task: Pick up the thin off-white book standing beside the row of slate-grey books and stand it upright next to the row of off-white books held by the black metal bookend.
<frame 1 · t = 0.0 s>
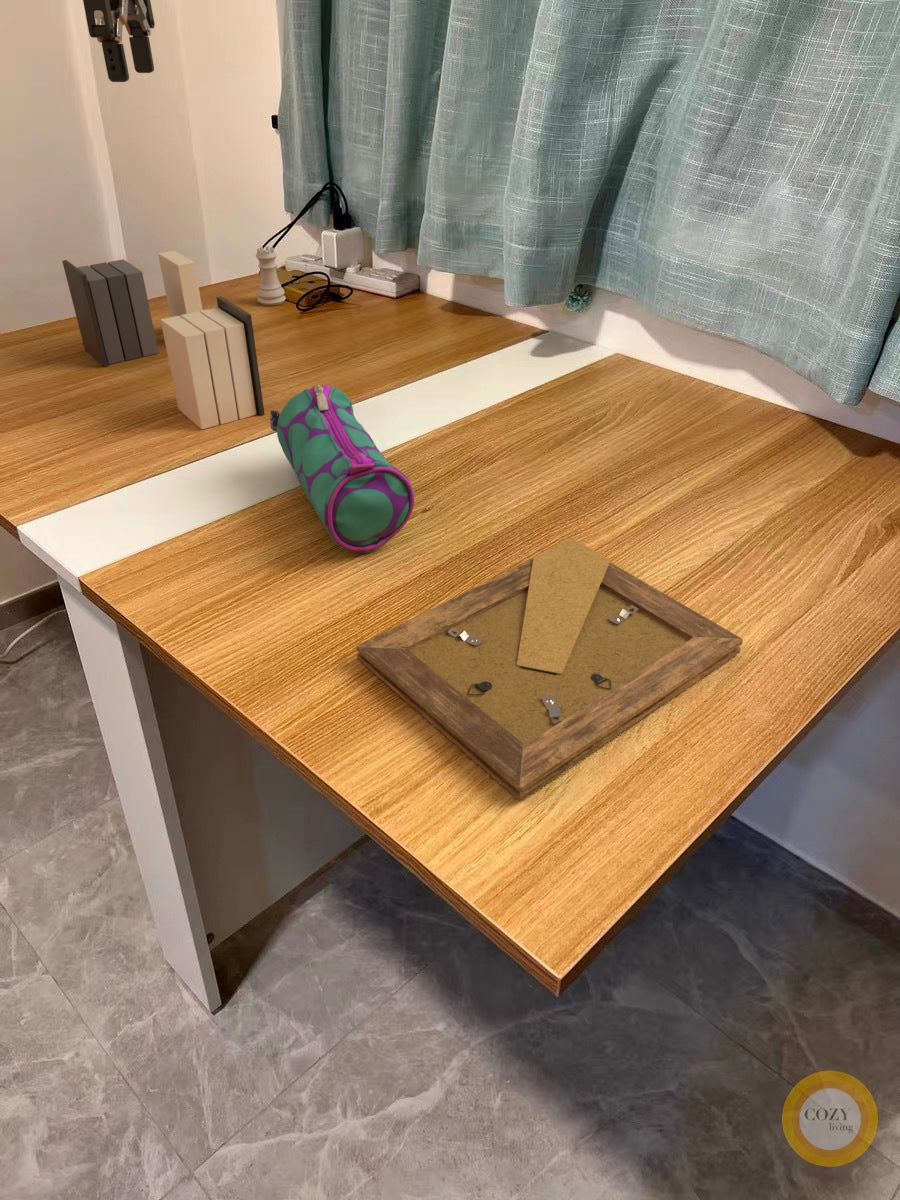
hand: (132, 77, 105), 32 cm above the table, tool pointing down, fingers open, 8 cm apart
picture frame: (549, 659, 70), on the table
pencil case: (343, 506, 89), on the table
white book: (190, 336, 127), on the table
grey books: (125, 351, 122), on the table
white books: (217, 412, 106), on the table
rook chess piece: (272, 303, 139), on the table
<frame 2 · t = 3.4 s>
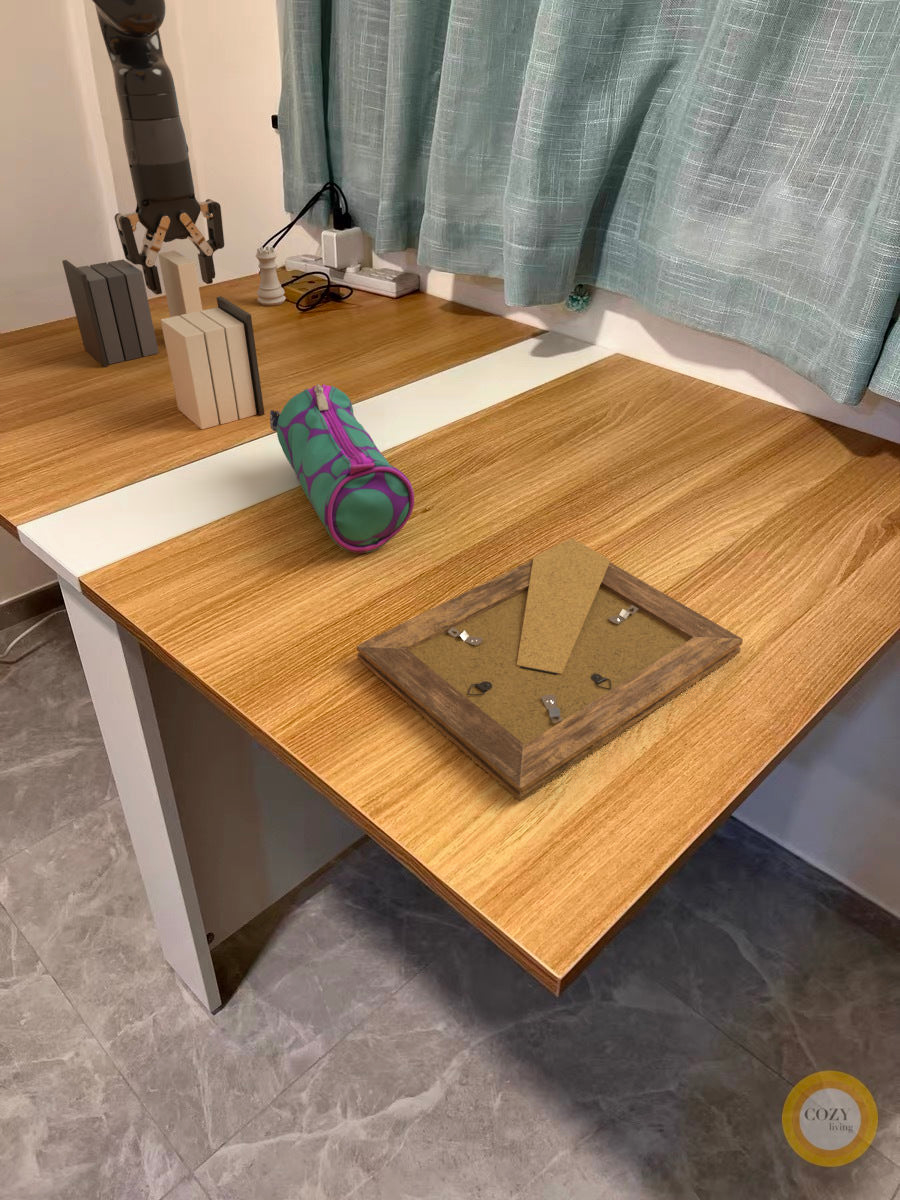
hand: (182, 287, 123), 7 cm above the table, tool pointing down, fingers open, 7 cm apart
nothing on the table moved.
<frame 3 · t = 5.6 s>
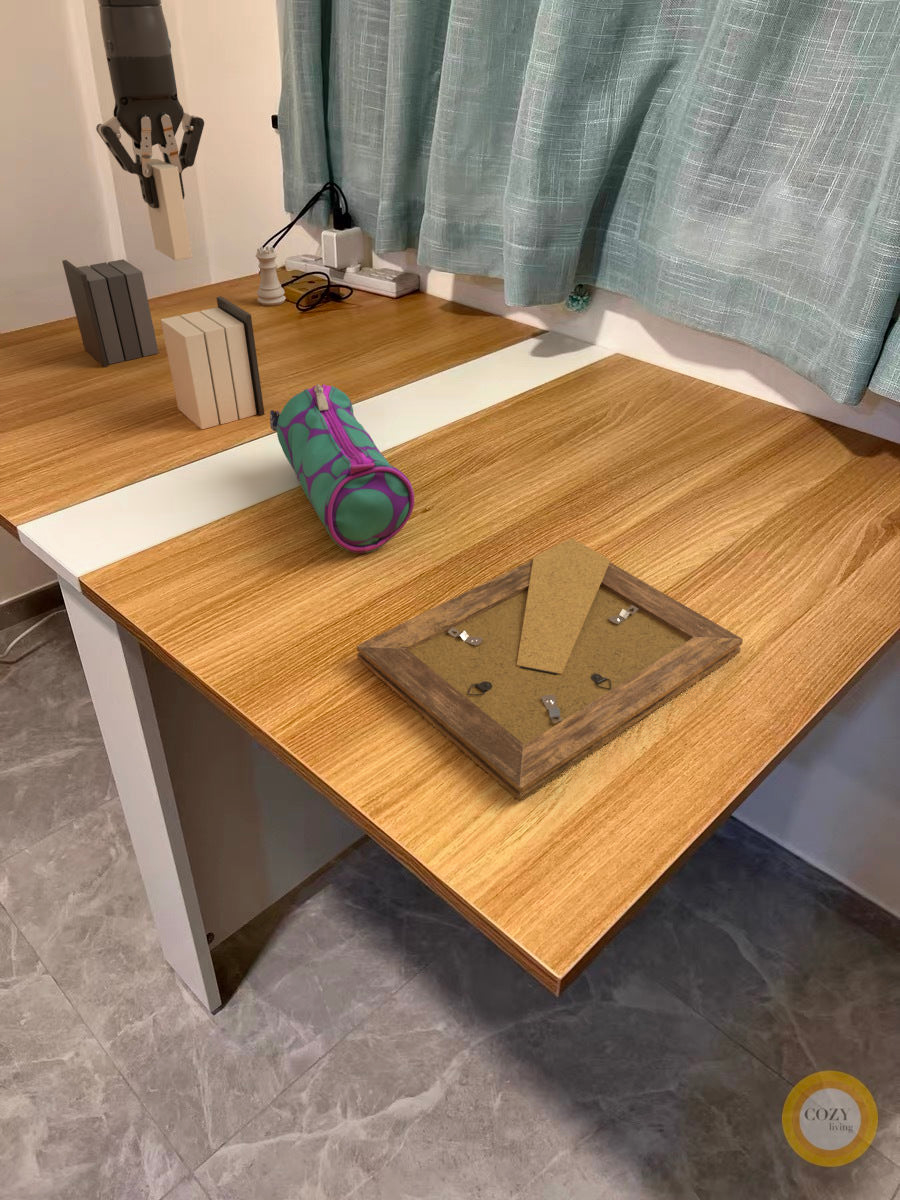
hand: (165, 204, 116), 18 cm above the table, tool pointing down, fingers closed on white book, 2 cm apart
white book: (173, 253, 120), point 12 cm above the table, touching gripper
everything else where it was.
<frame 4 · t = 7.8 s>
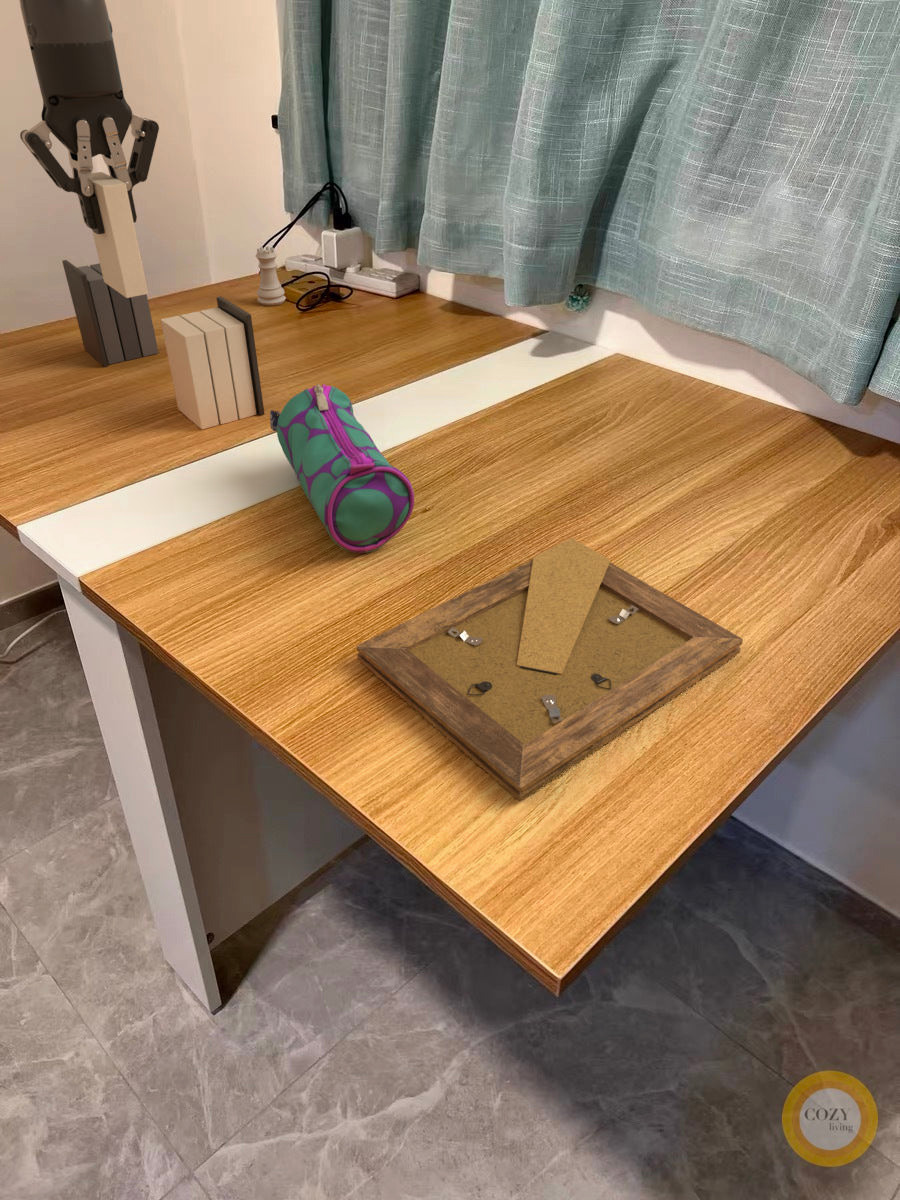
hand: (112, 229, 93), 21 cm above the table, tool pointing down, fingers closed on white book, 2 cm apart
white book: (125, 288, 97), point 15 cm above the table, touching gripper
everything else where it was.
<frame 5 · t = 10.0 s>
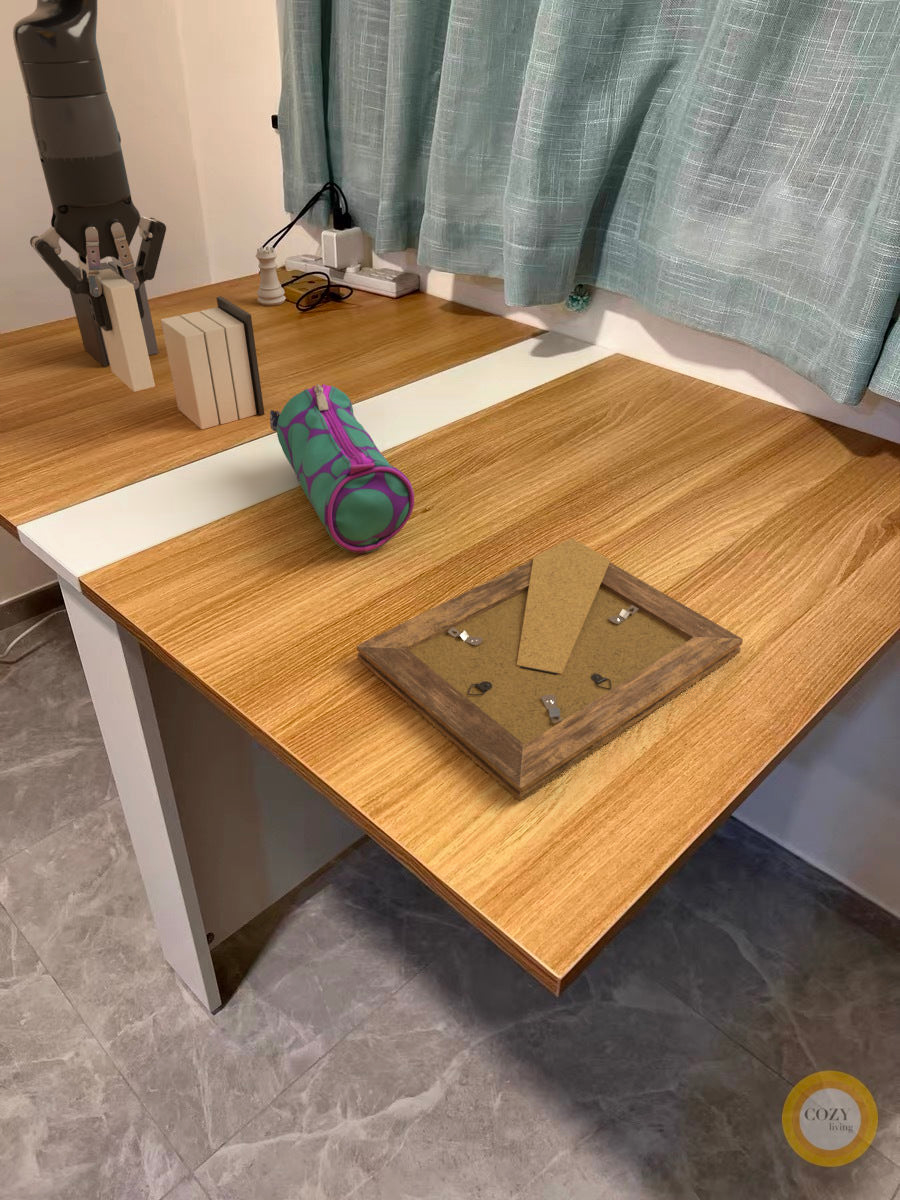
hand: (120, 325, 95), 12 cm above the table, tool pointing down, fingers closed on white book, 2 cm apart
white book: (133, 379, 98), point 6 cm above the table, touching gripper
everything else where it was.
when the fingers open (6 cm above the table, at t = 11.7 s): white book stays where it is, on the table.
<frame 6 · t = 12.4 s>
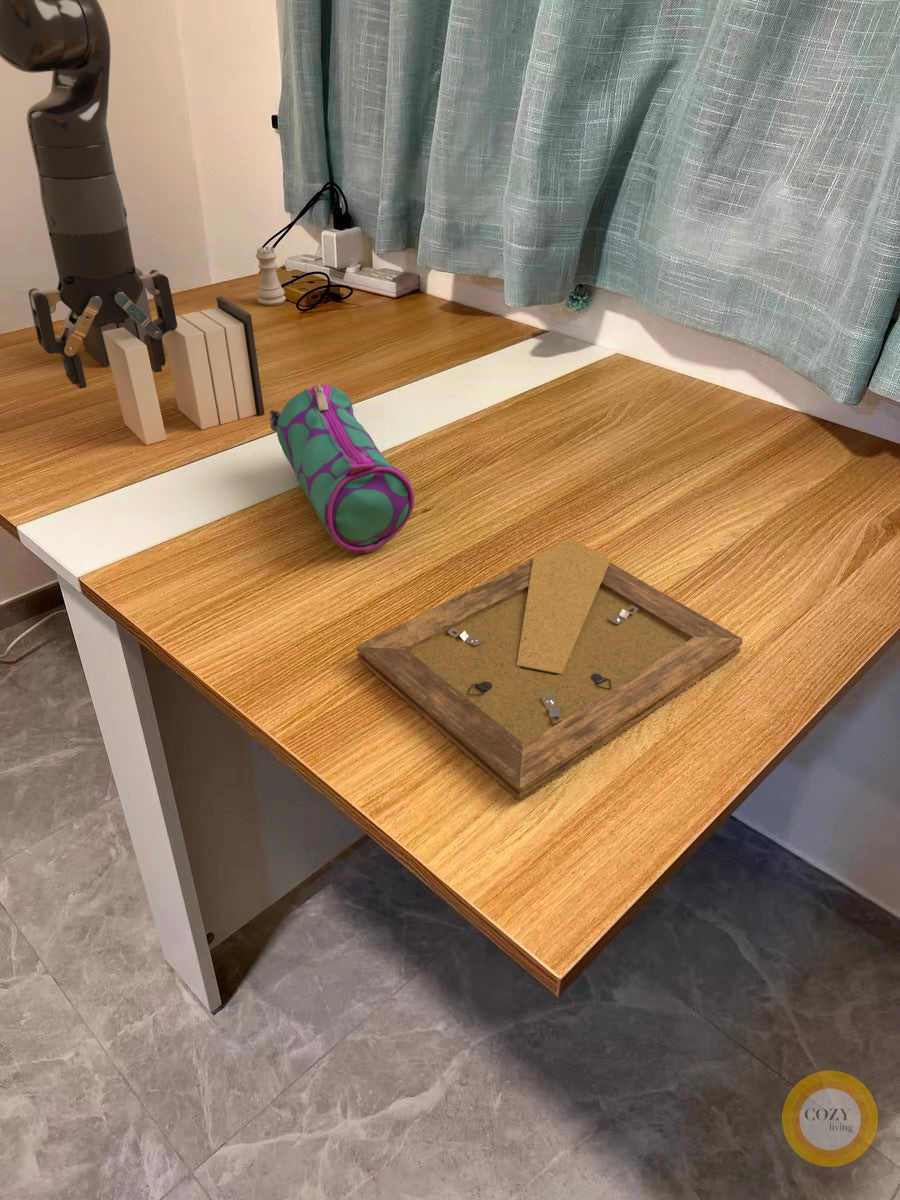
hand: (118, 377, 98), 7 cm above the table, tool pointing down, fingers open, 8 cm apart
white book: (145, 431, 102), on the table
everything else where it was.
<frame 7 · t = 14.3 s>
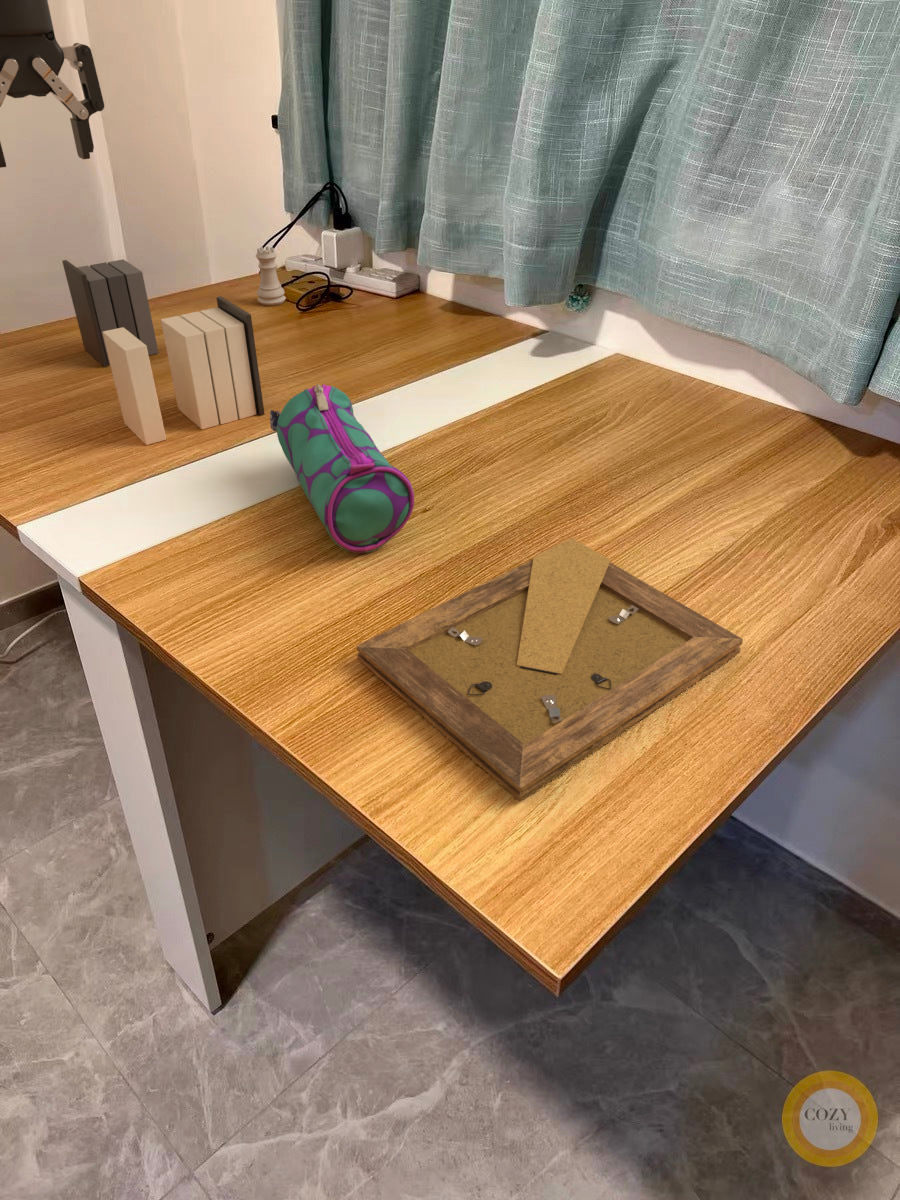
hand: (43, 162, 93), 27 cm above the table, tool pointing down, fingers open, 8 cm apart
nothing on the table moved.
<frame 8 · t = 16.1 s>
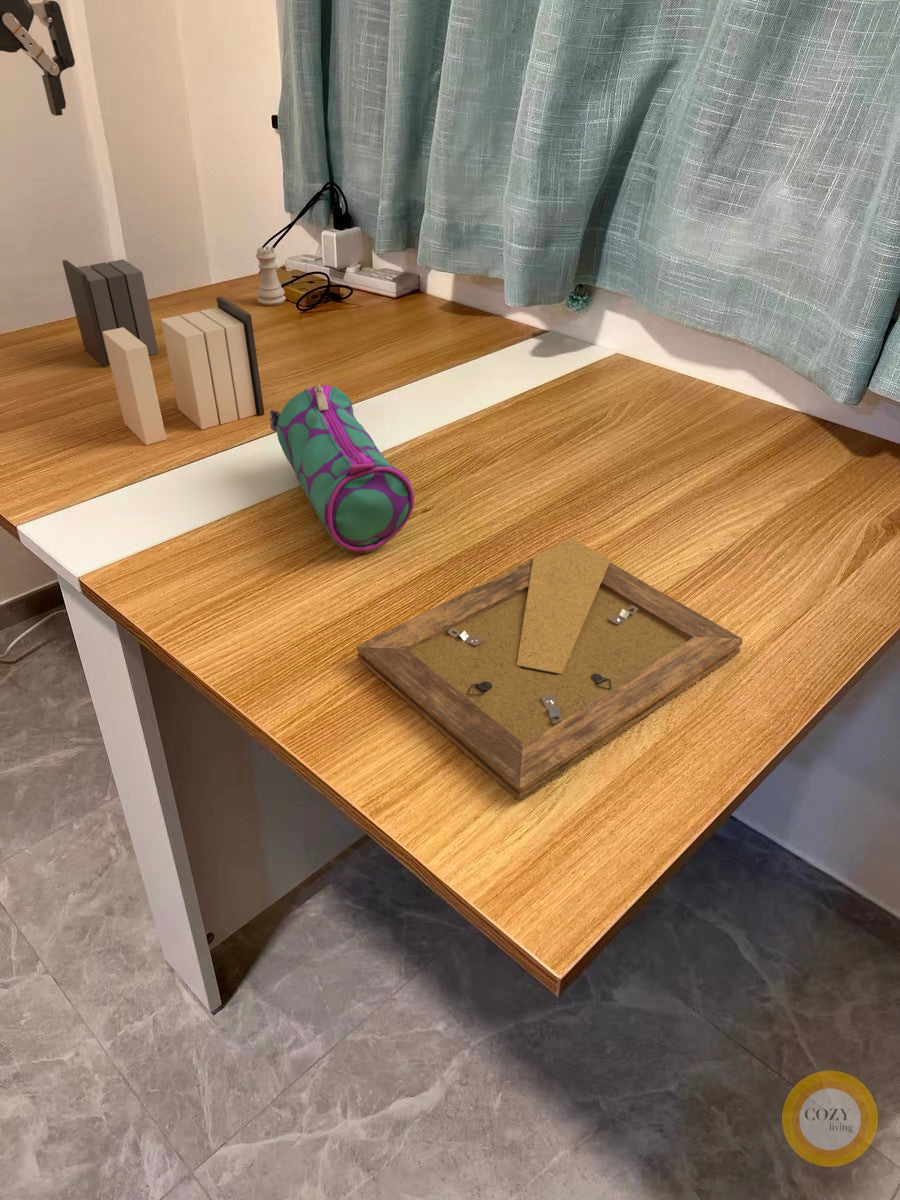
hand: (16, 118, 95), 30 cm above the table, tool pointing down, fingers open, 8 cm apart
nothing on the table moved.
at the end: white book 0.1 cm from the target spot on the table beside the white books, on the table; white book tilted 0°; the gripper is holding nothing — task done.
